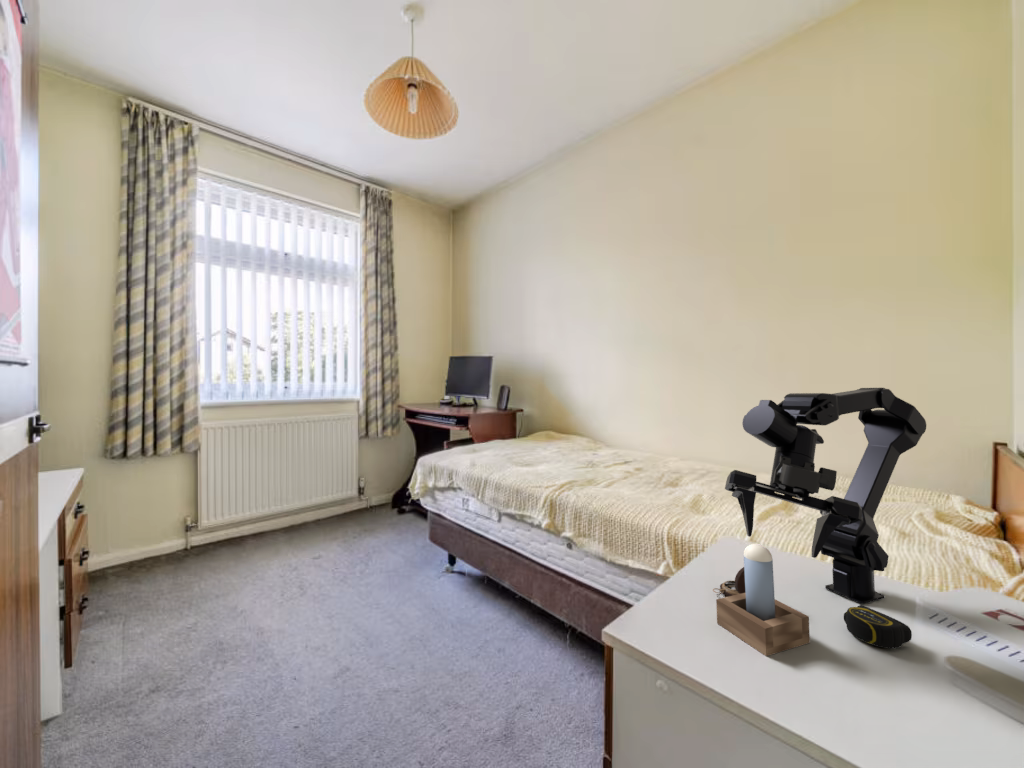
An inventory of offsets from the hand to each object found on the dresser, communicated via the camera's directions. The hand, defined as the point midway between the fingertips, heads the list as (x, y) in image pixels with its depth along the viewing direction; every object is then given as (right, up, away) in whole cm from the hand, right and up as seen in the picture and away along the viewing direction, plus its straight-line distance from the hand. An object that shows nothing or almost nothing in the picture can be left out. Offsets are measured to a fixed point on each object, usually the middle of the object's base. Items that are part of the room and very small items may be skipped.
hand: (780, 546), depth 67 cm
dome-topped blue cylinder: (-4, -12, -2) cm, 13 cm away
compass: (-2, -14, +10) cm, 17 cm away
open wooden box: (-4, -13, -2) cm, 14 cm away
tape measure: (+12, -13, -3) cm, 18 cm away
